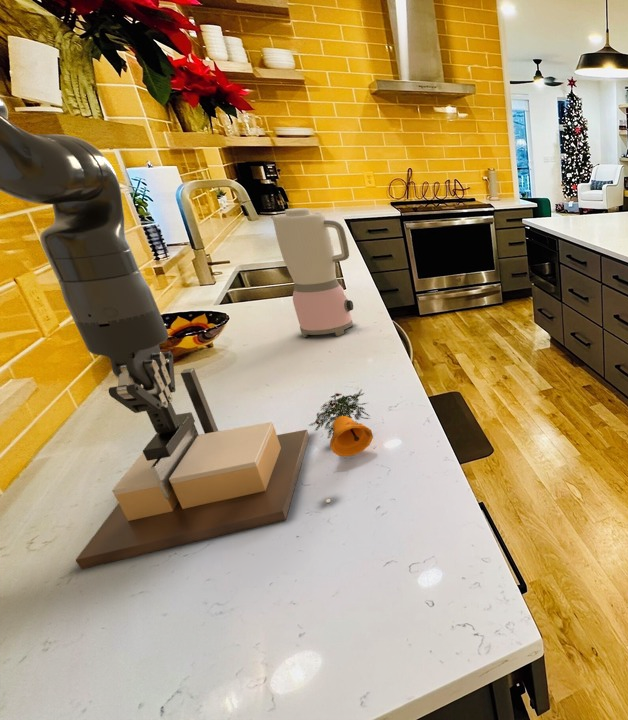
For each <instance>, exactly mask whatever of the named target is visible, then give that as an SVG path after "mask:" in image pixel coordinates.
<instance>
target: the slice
mask: <svg viewBox="0 0 628 720" xmlns="http://www.w3.org/2000/svg"><path fill="white" fill-rule="evenodd" d="M156 460H157V459H155V460H150V461H147V460H146V457H145V455H144V453H143V452H141V454H140V455H139V456H138V458H137V459H136V460H135V461H134V463H132V465H131V466H130V467H129V468H128V470H127V471H126V472H125V474H124V475H123V476H122V478H121V479H120V480H119V482H117V484H116V485H115V486H114V488H113V489H112V490H111V491H112V493H113V495H114V497H115V499H116V501H117V502H118V503H119V505H120V507H121V508H122V510H123V512H124V514H125V516H126V518H127V520H128V521H131V520H135V519H140V518H144V517H149V516H153V515H158V514H162V513H167V512H172V511H173V510H174V508H175V507H176V505H177V503H178V502H179V500H178V498H177V496H176V494H175V491H173V493H172V495H171V496H170V498H168V499H165V497H164V495H163V492H162V490H161V488H160V486H159V484H158V482H157V480H156V478H155V475H154V473H153V471H152V469H151V467H152V466H153V464H154V463H155V462H156ZM118 503H117V504H118Z"/></svg>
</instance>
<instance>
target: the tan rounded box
mask: <svg viewBox="0 0 628 720" xmlns="http://www.w3.org/2000/svg"><path fill="white" fill-rule="evenodd" d="M277 435H278V434H277V432H276V428H275V426H274V423H273V421H269V422H263V423H258V424H252V425H246V426H241V427H235V428H234V427H233V428H230V429H224V430H218V431H217V432H212V433H206V434H205V433H201V434H200V433H199V435H198V436H197V438H196V439H195V441H194V442H193V444H192V445H191V447H190V448H189V450H188V451H187V453H186V454H185V456H184V457H183V459H182V460H181V462H180V463H179V465H178V466H177V468H176V469H175V471H174V472H173V474H172V475H171V477H170V478H169V481H170V483H171V485H172V487H173V489H174V491H175V494H176V496H177V498H178V500H179V502H180V505H181V507H182V509H185V508H190V507H194V506H199V505H203V504H208V503H212V502H217V501H221V500H226V499H231V498H235V497H240V496H244V495H249V494H253V493H258V492H262V491H266V488H267V485H268V483H269V480H270V477H271V474H272V472H273V469H274V466H275V463H276V461H277V458H278V455H279V452H280V449H281V446H280V443H279V440H278V437H277Z"/></svg>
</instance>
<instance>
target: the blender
mask: <svg viewBox="0 0 628 720" xmlns="http://www.w3.org/2000/svg"><path fill="white" fill-rule="evenodd" d="M270 219H272V222H273V227H274V230H275V237H276V241H277V243H278V246H279V250H280V251H279V252H280V255H281V257H282V260H283V262H284V264H285V266H286V268H287V270H288V273H289V275H290V277H291V279H292V281H293V283H294V285H293V286H294V287H293V293H292V304H293V307H294V311H295V314H296V317H297V320H298V324H299V329H300V332H301V335H302V337H303V338H308V335H312V336H317V335H319V336H320V335H327V334H334V335H335V336H336V337H340V336H343V335H345V330H346V329H348V328H352V327H353V326H354V323H353V319H352V315H351V311H353V310H354V303H353V301H352V300H351V299H348V297H347V294H346V291H345V289H344V288H343V286H342V285H341V284H340V283H339V281H338V279H337V273H336V263H338V262H342V261H346V260H348V259H349V257H350V251H349V245H348V240H347V235H346V232H345V228H344V226H343V225H342V224H341V223H340V222H338V221H336V220H328V219H326V217H325V214H324V213H322V212H317V211H315V212H314V211H311V209H310V208H309V207H308V208H307V207H294V208H287V209H284V213H281V214H276V215H271V216H270ZM329 228H333V229H335V230H336V233H337V238H338V242H339V246H340V251H341V253H340V254H335V250H334V246H333V242H332V237H331V234H330V229H329Z"/></svg>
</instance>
